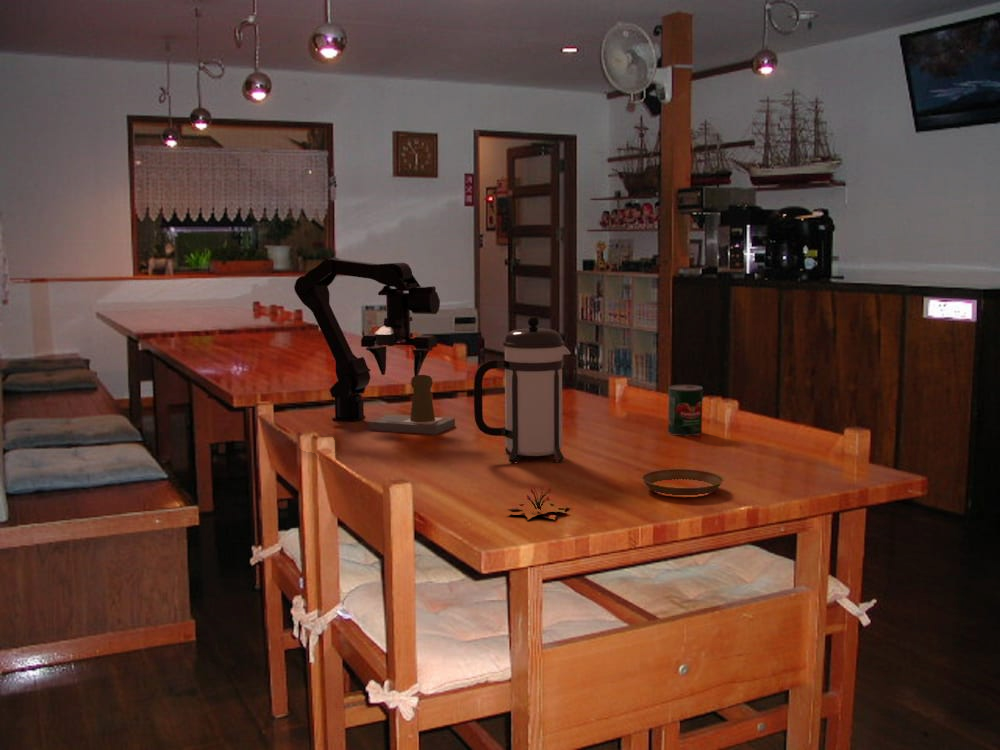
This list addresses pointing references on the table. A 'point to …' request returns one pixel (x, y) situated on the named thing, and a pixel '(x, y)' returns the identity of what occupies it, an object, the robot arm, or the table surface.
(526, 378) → the coffee press
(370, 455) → the table surface
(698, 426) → the canned tomato
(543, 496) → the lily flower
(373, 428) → the dock step
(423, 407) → the cork
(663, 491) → the plant saucer
